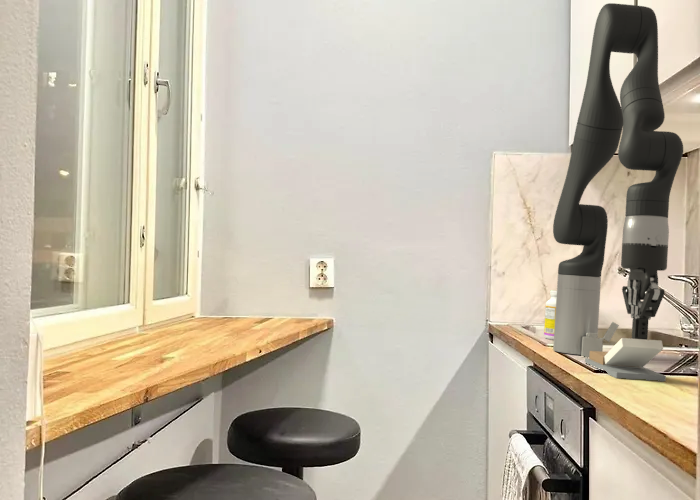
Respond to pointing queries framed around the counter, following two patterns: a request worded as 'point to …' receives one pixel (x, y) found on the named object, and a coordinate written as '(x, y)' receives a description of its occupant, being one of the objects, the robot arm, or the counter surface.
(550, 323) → the supplement bottle
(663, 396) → the counter surface
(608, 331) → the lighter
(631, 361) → the board
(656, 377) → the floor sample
